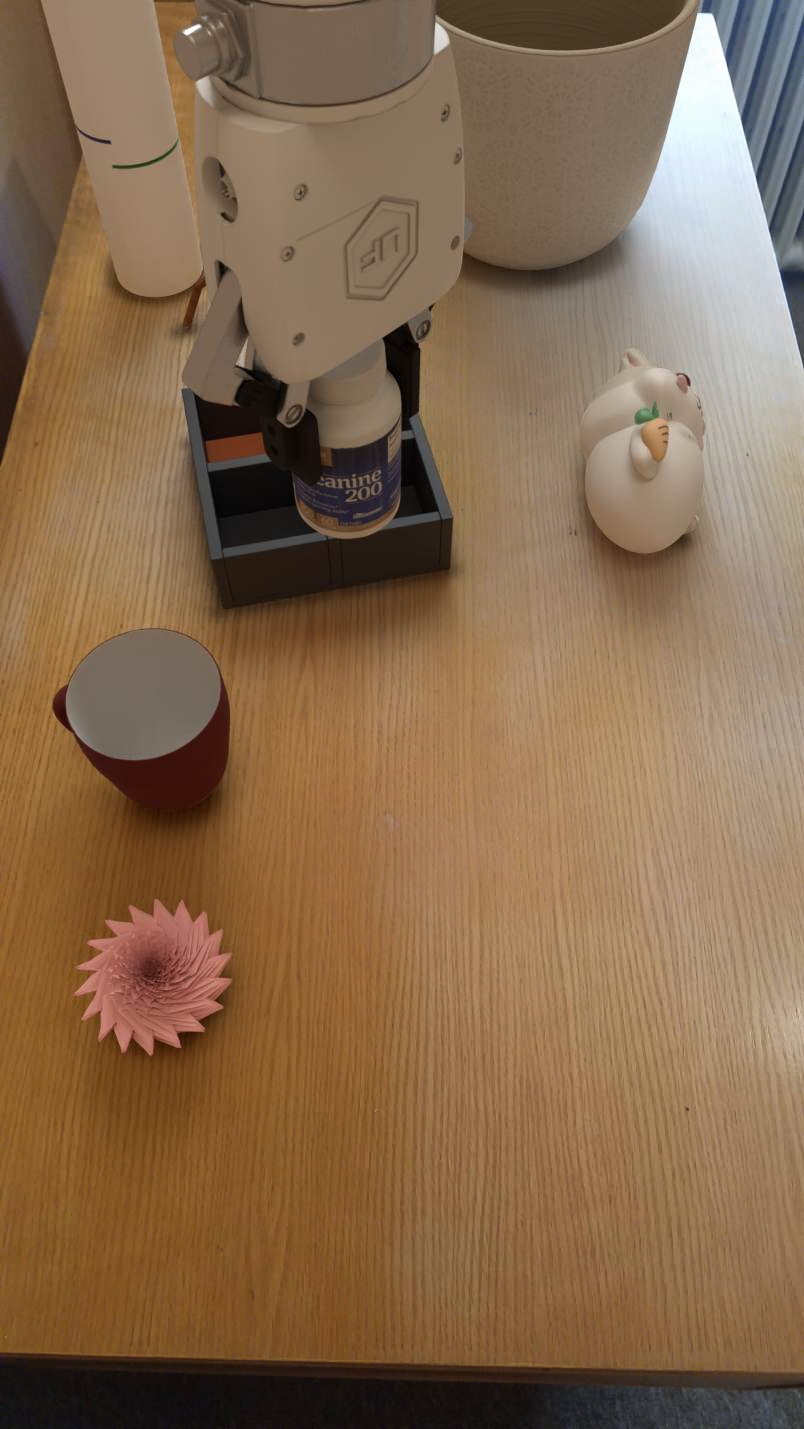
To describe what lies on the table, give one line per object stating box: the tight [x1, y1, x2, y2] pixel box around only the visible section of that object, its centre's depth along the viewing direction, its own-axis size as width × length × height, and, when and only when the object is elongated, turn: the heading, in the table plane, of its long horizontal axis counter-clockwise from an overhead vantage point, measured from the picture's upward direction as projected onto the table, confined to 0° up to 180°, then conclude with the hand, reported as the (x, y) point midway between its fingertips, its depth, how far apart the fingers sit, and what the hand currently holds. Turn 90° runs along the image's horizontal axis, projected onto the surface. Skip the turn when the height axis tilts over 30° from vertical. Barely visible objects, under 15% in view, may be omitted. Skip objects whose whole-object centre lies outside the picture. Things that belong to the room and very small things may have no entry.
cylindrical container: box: [40, 0, 204, 298], centre depth 73 cm, size 7×7×25 cm
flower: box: [72, 898, 234, 1057], centre depth 52 cm, size 8×8×6 cm
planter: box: [435, 0, 701, 271], centre depth 79 cm, size 21×21×19 cm
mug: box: [51, 627, 231, 812], centre depth 56 cm, size 10×8×10 cm
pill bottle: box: [292, 338, 401, 539], centre depth 48 cm, size 5×5×10 cm
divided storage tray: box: [180, 375, 454, 610], centre depth 69 cm, size 15×15×5 cm
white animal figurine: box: [579, 347, 706, 554], centre depth 68 cm, size 10×8×15 cm
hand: (344, 431), depth 48 cm, fingers closed on pill bottle, 5 cm apart
